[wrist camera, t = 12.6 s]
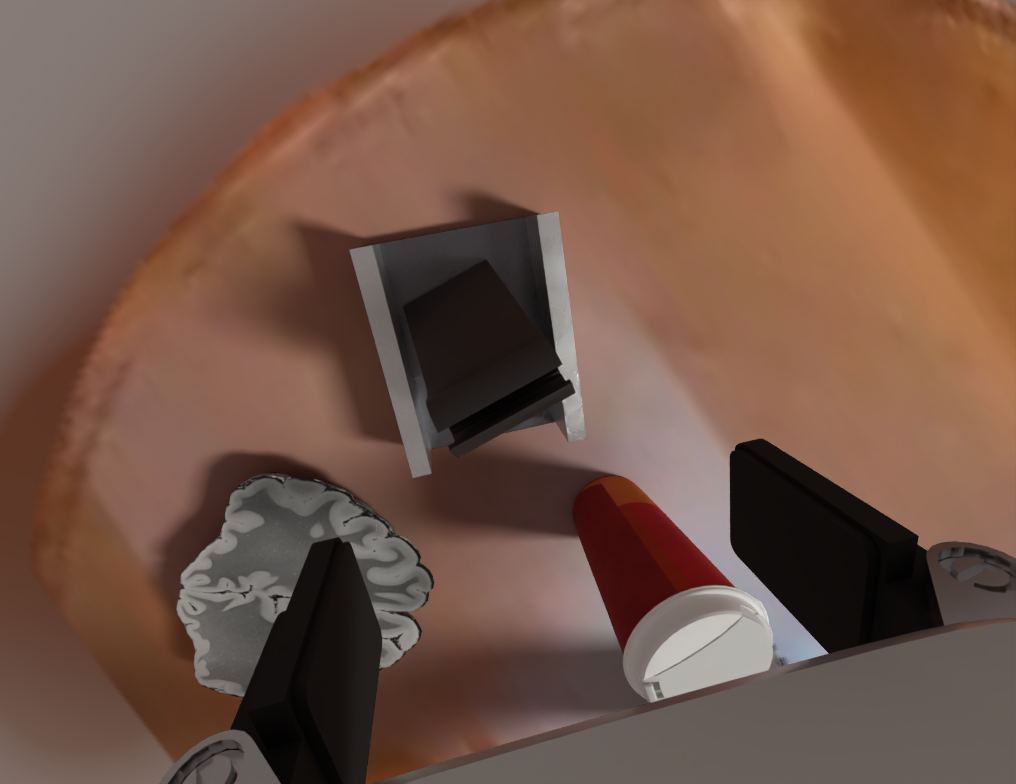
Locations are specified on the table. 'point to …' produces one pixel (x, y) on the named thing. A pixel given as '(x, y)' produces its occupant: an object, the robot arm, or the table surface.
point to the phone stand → (481, 359)
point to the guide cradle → (437, 259)
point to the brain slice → (290, 573)
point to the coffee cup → (666, 596)
